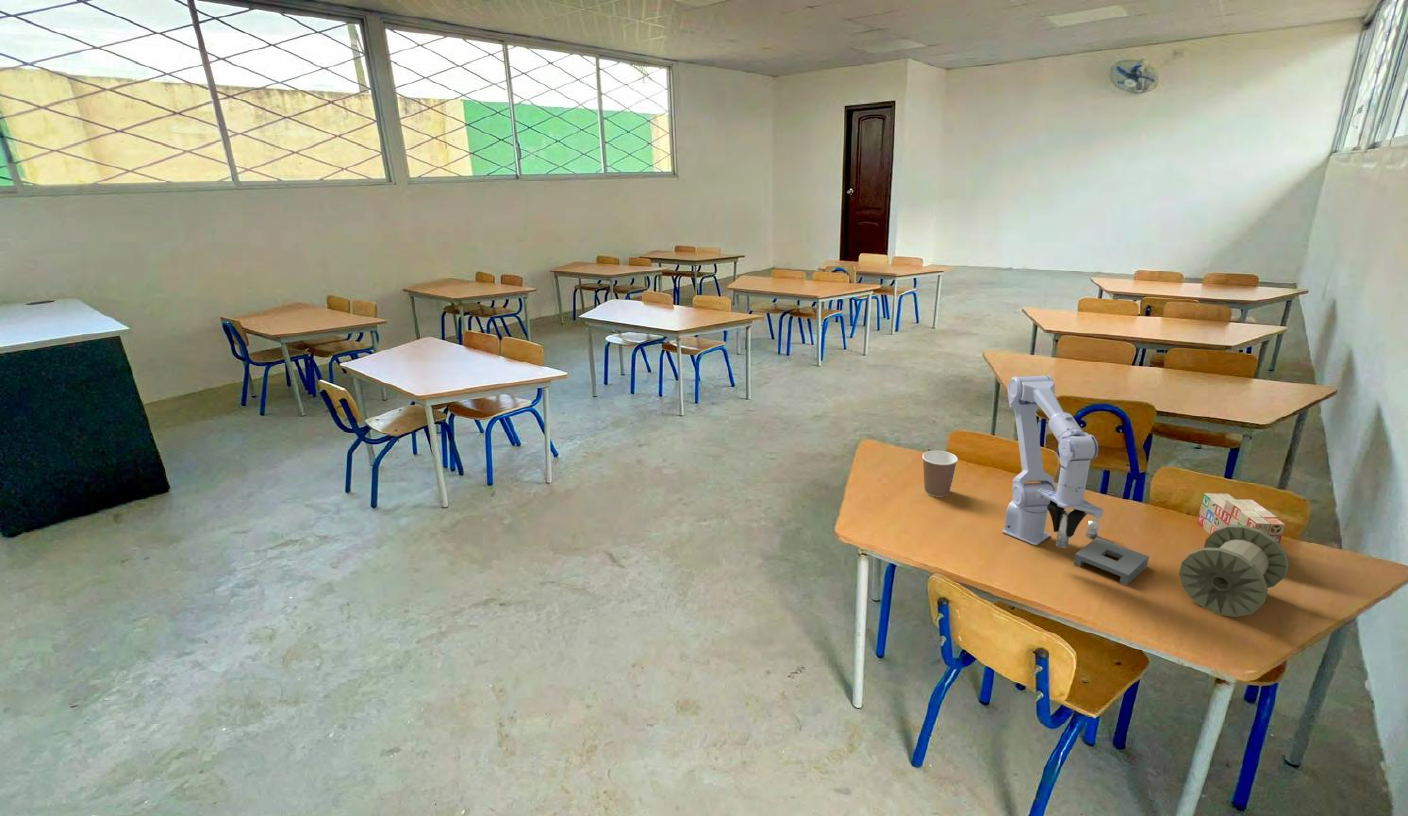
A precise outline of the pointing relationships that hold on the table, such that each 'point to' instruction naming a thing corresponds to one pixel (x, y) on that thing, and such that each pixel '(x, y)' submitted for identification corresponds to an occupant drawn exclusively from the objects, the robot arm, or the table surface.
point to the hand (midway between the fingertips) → (1063, 532)
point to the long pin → (1063, 530)
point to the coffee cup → (938, 472)
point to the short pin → (1092, 528)
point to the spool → (1234, 570)
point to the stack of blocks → (1237, 515)
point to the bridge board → (1124, 567)
